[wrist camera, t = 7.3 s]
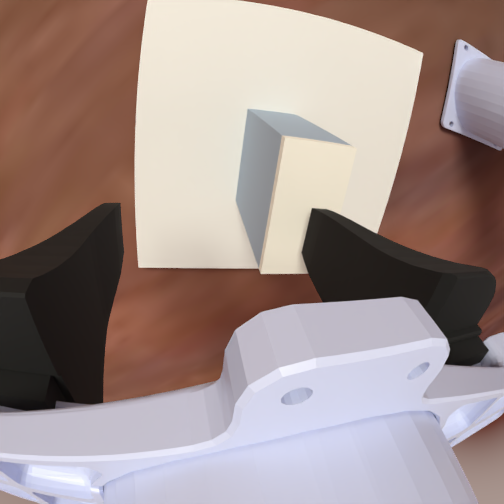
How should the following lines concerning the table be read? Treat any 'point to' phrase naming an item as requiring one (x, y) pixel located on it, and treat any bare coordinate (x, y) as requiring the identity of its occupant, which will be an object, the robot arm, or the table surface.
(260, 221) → the block
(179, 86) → the tile
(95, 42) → the table surface
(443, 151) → the table surface
